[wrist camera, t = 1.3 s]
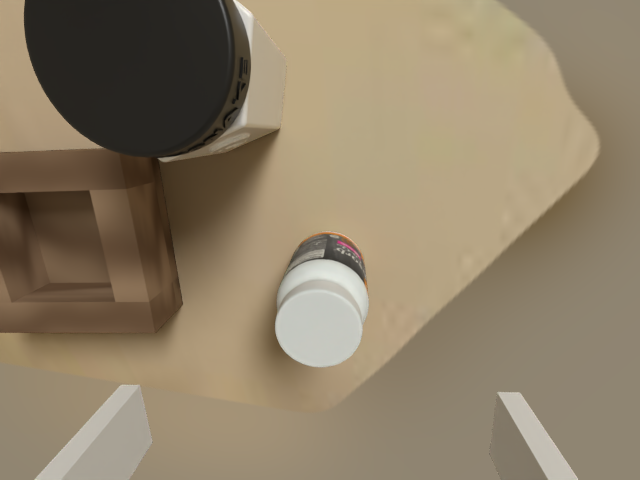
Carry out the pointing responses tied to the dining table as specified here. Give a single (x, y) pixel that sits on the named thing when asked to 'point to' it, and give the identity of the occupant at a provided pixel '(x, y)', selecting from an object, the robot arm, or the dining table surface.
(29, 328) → the socket block
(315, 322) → the pill bottle
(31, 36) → the jar
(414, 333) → the dining table surface
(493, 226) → the dining table surface
